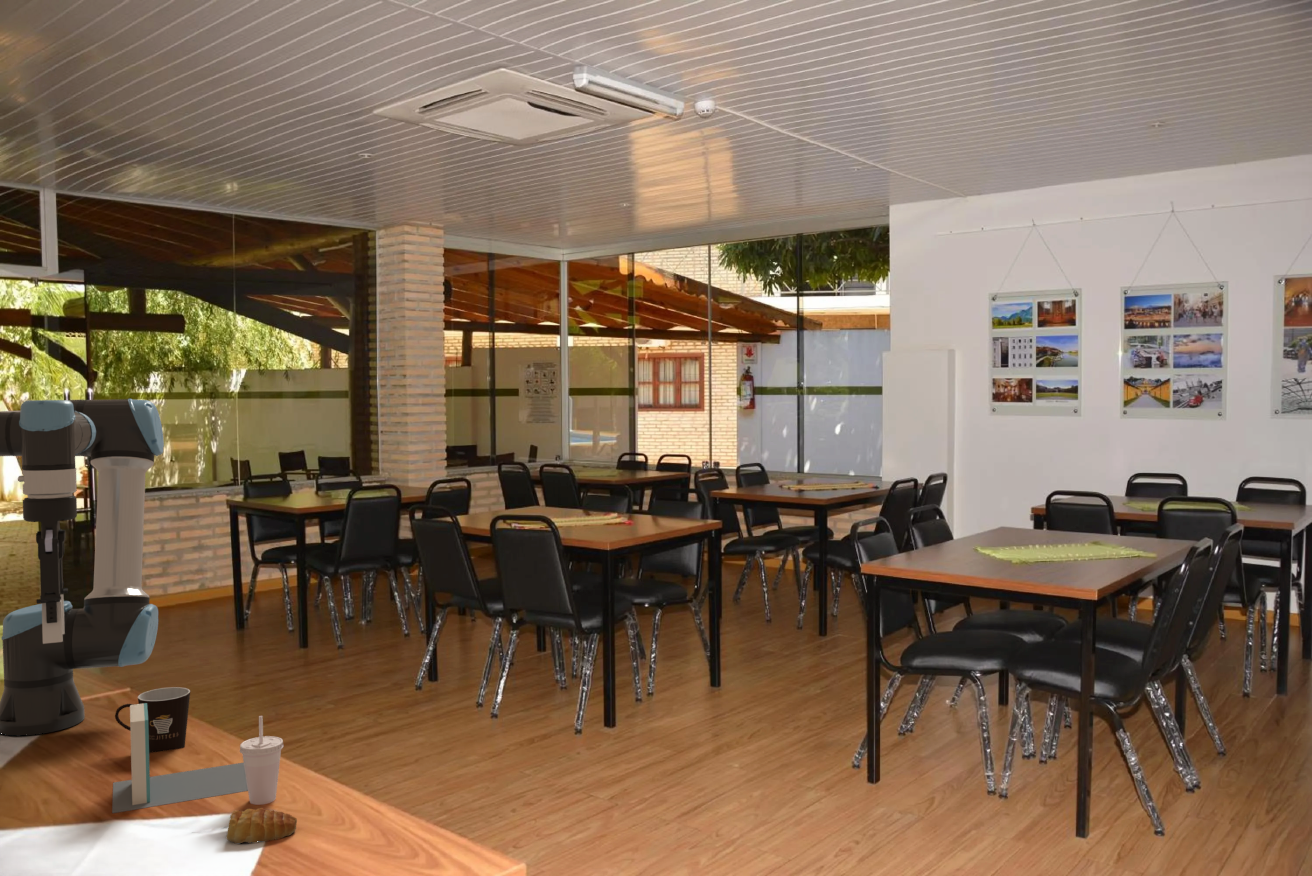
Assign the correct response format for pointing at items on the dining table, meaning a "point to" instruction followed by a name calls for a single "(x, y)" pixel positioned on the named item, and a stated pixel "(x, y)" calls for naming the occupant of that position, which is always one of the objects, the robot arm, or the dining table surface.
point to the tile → (140, 754)
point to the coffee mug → (164, 717)
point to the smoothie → (261, 766)
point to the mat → (183, 787)
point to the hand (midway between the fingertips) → (53, 638)
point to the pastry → (259, 825)
